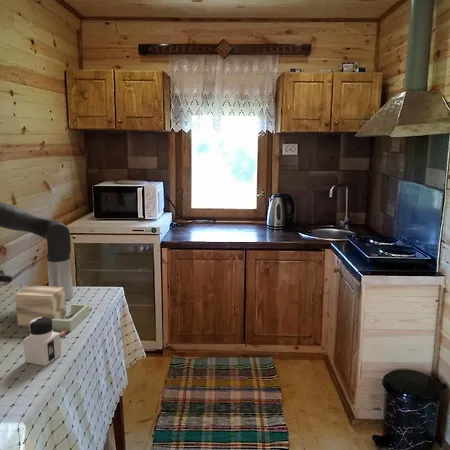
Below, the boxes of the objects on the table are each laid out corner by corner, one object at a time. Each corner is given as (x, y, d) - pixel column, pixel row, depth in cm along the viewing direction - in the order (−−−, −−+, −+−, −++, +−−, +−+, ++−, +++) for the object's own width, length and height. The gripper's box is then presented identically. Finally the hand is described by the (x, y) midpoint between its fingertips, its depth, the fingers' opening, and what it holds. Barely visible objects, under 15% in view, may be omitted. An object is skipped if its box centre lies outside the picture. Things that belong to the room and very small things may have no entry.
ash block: (32, 314, 176) (30, 285, 173) (66, 316, 174) (64, 287, 172) (17, 325, 166) (15, 294, 164) (53, 327, 164) (51, 296, 162)
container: (62, 355, 143) (59, 316, 141) (45, 366, 136) (41, 326, 134) (42, 351, 146) (39, 313, 143) (24, 362, 139) (21, 322, 136)
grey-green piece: (77, 309, 181) (76, 299, 181) (94, 310, 180) (93, 300, 180) (46, 335, 157) (45, 325, 156) (65, 337, 156) (64, 326, 155)
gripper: (-46, 271, 163) (-1, 274, 161) (-22, 262, 176) (20, 264, 174) (-44, 291, 164) (1, 294, 162) (-20, 280, 177) (21, 283, 175)
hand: (11, 278), depth 168 cm, fingers closed
